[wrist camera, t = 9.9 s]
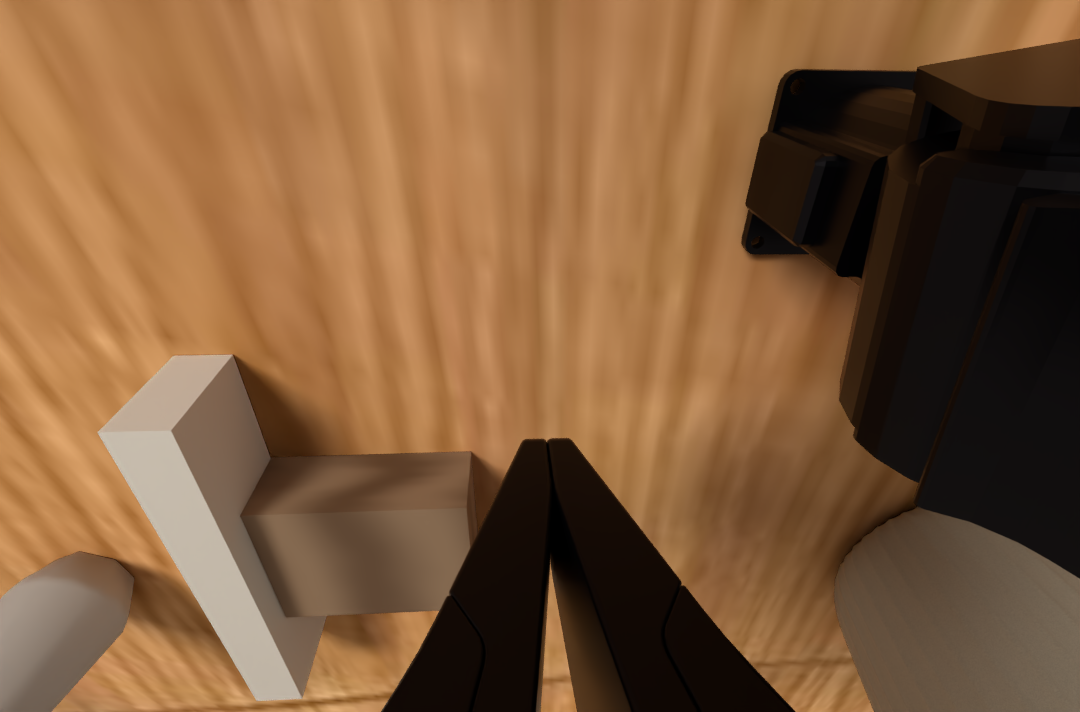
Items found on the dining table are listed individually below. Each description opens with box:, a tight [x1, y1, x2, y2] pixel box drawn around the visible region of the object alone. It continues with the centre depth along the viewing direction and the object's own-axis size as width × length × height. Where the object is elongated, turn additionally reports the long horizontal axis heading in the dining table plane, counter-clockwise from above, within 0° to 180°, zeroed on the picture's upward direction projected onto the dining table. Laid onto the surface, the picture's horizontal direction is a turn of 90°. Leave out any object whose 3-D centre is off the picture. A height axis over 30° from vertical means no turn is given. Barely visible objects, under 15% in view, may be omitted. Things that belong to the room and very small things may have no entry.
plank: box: [98, 355, 327, 701], centre depth 26 cm, size 2×20×5 cm, turn 179°
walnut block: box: [240, 451, 478, 617], centre depth 27 cm, size 10×8×4 cm
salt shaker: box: [0, 552, 134, 712], centre depth 25 cm, size 6×6×13 cm
